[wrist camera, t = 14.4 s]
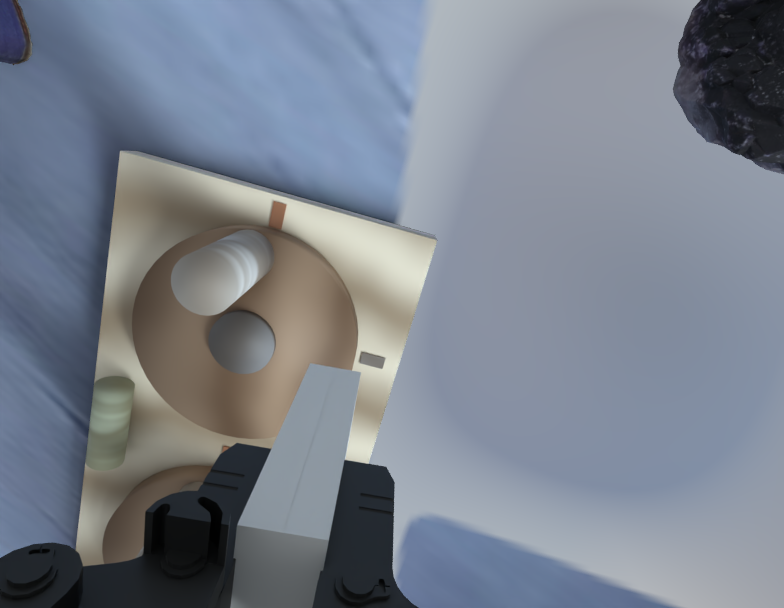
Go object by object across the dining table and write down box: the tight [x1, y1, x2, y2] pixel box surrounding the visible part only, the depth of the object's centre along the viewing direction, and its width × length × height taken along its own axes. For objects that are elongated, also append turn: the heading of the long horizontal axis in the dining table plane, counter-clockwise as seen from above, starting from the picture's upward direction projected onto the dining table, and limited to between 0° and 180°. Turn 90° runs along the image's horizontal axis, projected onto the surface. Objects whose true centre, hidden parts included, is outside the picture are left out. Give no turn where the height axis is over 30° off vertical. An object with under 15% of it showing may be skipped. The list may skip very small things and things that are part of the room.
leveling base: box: [76, 151, 437, 566], centre depth 35 cm, size 36×20×4 cm, turn 164°
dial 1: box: [102, 465, 213, 564], centre depth 33 cm, size 14×14×9 cm
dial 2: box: [132, 224, 358, 439], centre depth 28 cm, size 14×14×9 cm
